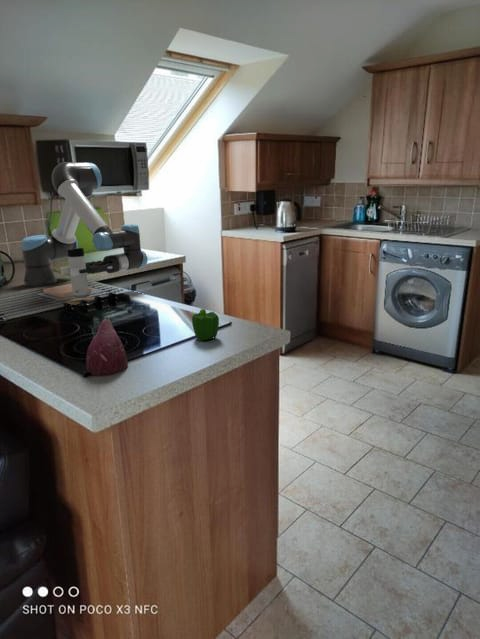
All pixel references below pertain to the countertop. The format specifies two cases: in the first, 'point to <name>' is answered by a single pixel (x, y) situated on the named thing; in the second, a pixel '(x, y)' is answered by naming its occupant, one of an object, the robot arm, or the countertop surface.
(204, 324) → the bell pepper
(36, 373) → the countertop surface
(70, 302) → the coaster
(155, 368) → the countertop surface
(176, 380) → the countertop surface
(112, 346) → the vegetable
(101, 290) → the mat
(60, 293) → the tile
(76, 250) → the travel mug
